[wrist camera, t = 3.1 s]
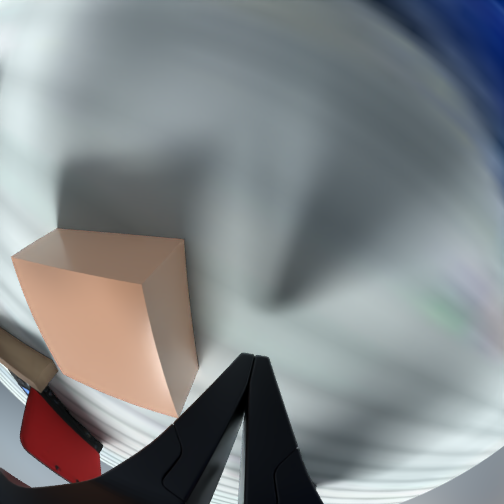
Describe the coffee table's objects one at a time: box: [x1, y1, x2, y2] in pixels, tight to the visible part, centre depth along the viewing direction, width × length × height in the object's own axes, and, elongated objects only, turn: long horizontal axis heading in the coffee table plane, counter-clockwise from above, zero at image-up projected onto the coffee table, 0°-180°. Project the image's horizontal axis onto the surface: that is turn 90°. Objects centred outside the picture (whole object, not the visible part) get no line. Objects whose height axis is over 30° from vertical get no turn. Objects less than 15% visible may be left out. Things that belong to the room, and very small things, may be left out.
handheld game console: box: [8, 369, 103, 483], centre depth 17 cm, size 12×11×7 cm
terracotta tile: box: [11, 228, 199, 418], centre depth 9 cm, size 6×6×3 cm
